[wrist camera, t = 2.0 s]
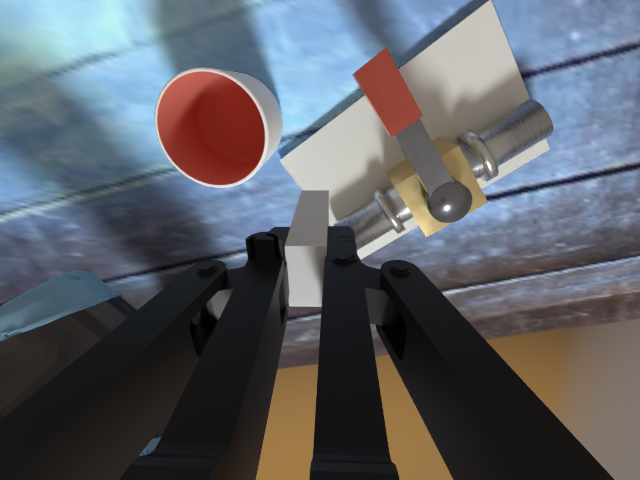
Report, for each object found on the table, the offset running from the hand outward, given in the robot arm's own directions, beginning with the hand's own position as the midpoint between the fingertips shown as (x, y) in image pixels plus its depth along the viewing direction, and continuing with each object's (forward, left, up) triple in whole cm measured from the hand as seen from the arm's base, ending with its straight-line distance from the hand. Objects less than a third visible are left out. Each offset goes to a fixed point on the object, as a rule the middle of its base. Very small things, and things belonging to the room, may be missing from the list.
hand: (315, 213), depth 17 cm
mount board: (+8, -6, -22) cm, 24 cm away
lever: (+8, -4, -14) cm, 16 cm away
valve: (+8, -10, -22) cm, 25 cm away
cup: (-6, +8, -22) cm, 24 cm away
